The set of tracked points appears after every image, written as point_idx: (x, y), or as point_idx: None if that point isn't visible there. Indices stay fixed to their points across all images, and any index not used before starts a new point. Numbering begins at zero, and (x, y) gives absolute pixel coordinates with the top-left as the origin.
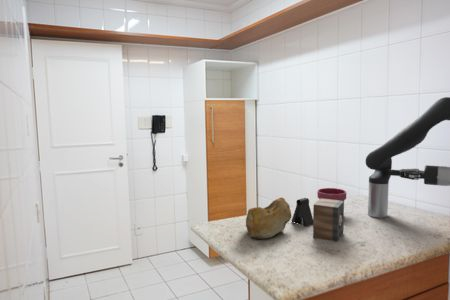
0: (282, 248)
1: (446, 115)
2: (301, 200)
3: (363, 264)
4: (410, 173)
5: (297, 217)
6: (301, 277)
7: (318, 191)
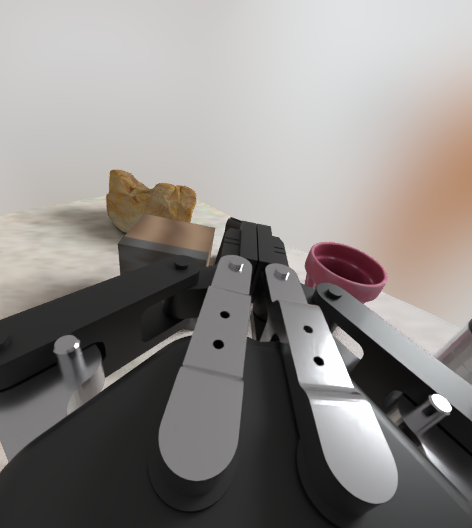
0: (77, 246)
1: None
2: (230, 221)
3: None
4: (18, 317)
5: None
6: None
7: (322, 242)
